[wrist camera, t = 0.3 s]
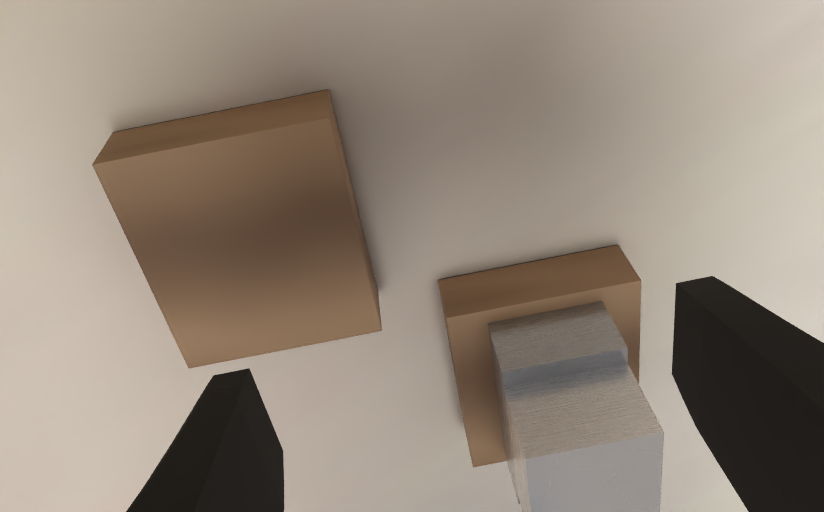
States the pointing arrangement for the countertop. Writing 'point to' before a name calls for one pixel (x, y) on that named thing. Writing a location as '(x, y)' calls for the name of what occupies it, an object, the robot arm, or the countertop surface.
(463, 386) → the stand
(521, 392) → the block
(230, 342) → the stand
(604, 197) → the countertop surface
